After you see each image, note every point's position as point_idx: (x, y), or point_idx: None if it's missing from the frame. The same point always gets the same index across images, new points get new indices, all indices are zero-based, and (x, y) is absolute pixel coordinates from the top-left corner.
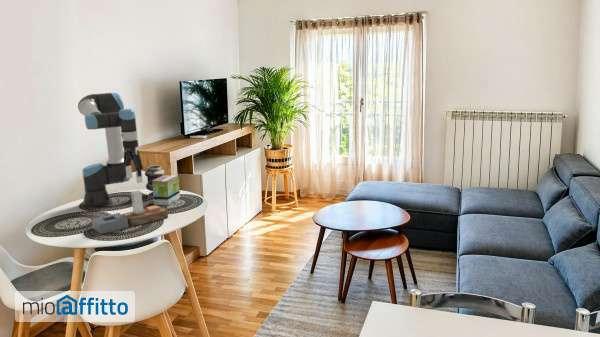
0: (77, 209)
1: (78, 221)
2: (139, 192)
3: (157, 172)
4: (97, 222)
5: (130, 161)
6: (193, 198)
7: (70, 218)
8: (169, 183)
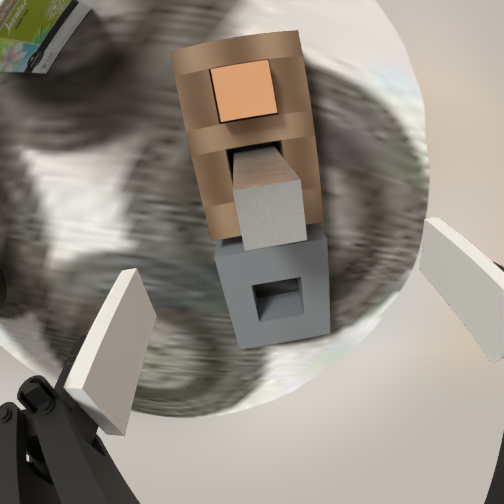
0: (21, 326)
1: None
2: (300, 192)
3: None
4: (299, 336)
5: (100, 479)
6: None
7: None
8: None
